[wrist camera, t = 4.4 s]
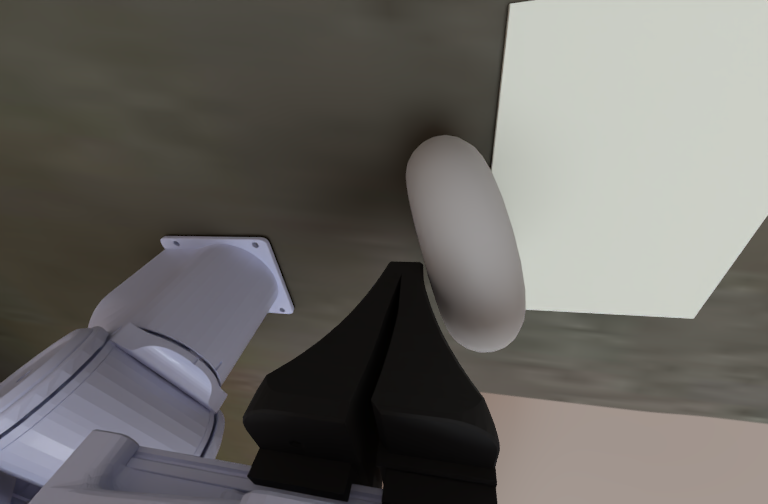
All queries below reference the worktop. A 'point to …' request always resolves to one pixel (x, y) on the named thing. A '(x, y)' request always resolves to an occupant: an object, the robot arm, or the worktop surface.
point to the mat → (632, 149)
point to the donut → (466, 243)
